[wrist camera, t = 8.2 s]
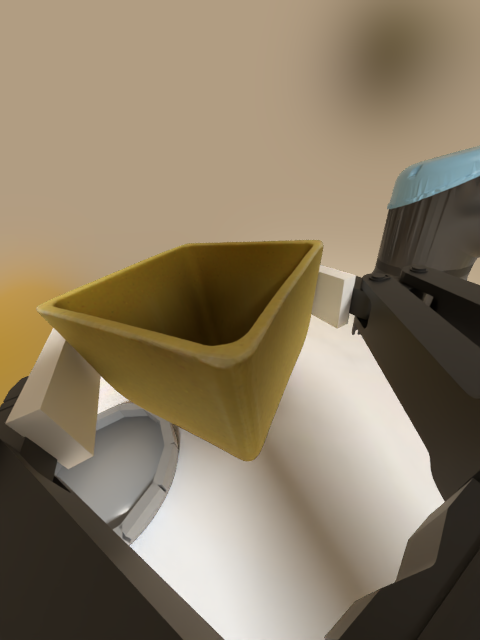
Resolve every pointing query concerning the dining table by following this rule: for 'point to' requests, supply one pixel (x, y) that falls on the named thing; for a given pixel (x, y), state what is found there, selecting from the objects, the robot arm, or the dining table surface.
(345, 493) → the dining table surface
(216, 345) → the flower pot
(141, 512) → the grey saucer
